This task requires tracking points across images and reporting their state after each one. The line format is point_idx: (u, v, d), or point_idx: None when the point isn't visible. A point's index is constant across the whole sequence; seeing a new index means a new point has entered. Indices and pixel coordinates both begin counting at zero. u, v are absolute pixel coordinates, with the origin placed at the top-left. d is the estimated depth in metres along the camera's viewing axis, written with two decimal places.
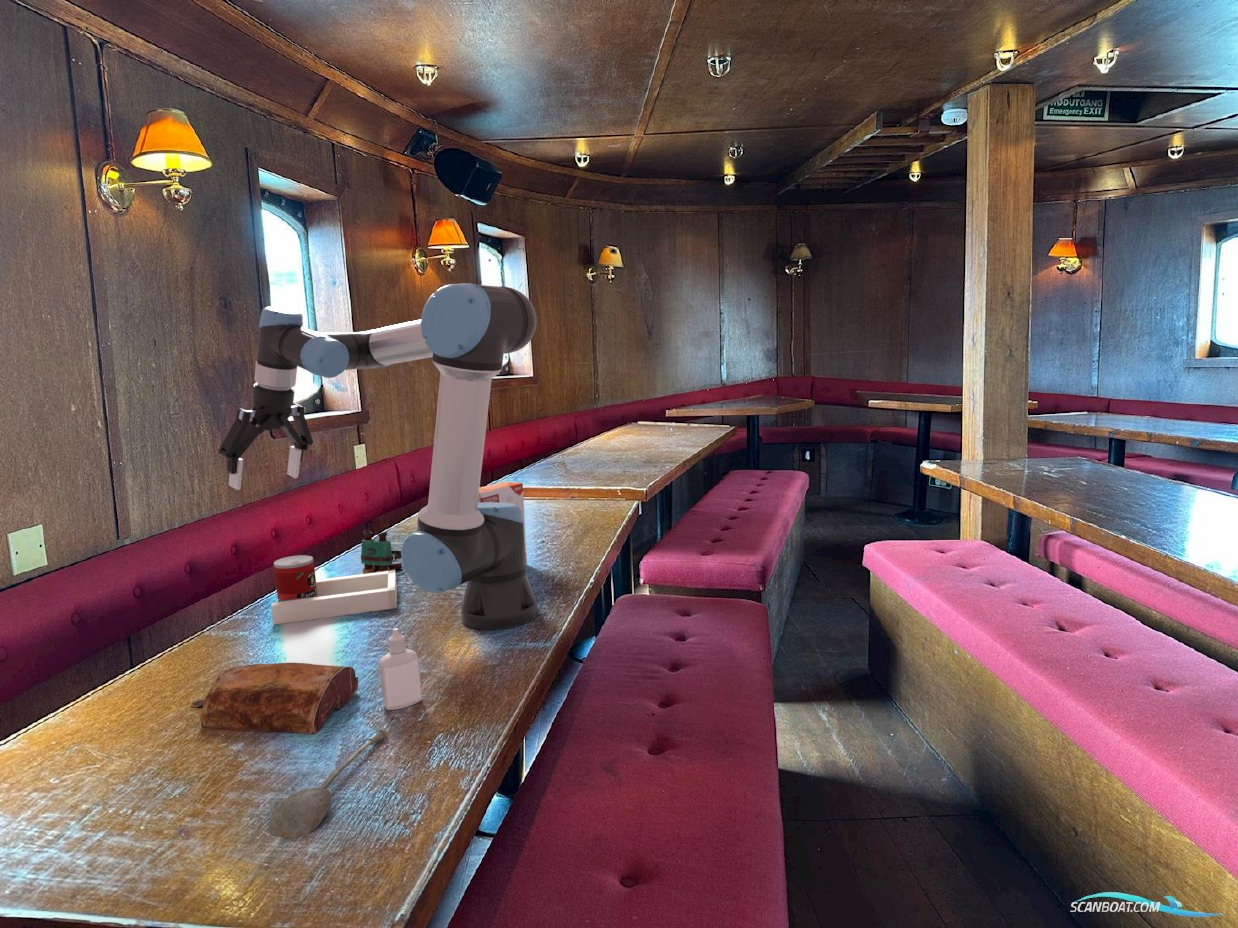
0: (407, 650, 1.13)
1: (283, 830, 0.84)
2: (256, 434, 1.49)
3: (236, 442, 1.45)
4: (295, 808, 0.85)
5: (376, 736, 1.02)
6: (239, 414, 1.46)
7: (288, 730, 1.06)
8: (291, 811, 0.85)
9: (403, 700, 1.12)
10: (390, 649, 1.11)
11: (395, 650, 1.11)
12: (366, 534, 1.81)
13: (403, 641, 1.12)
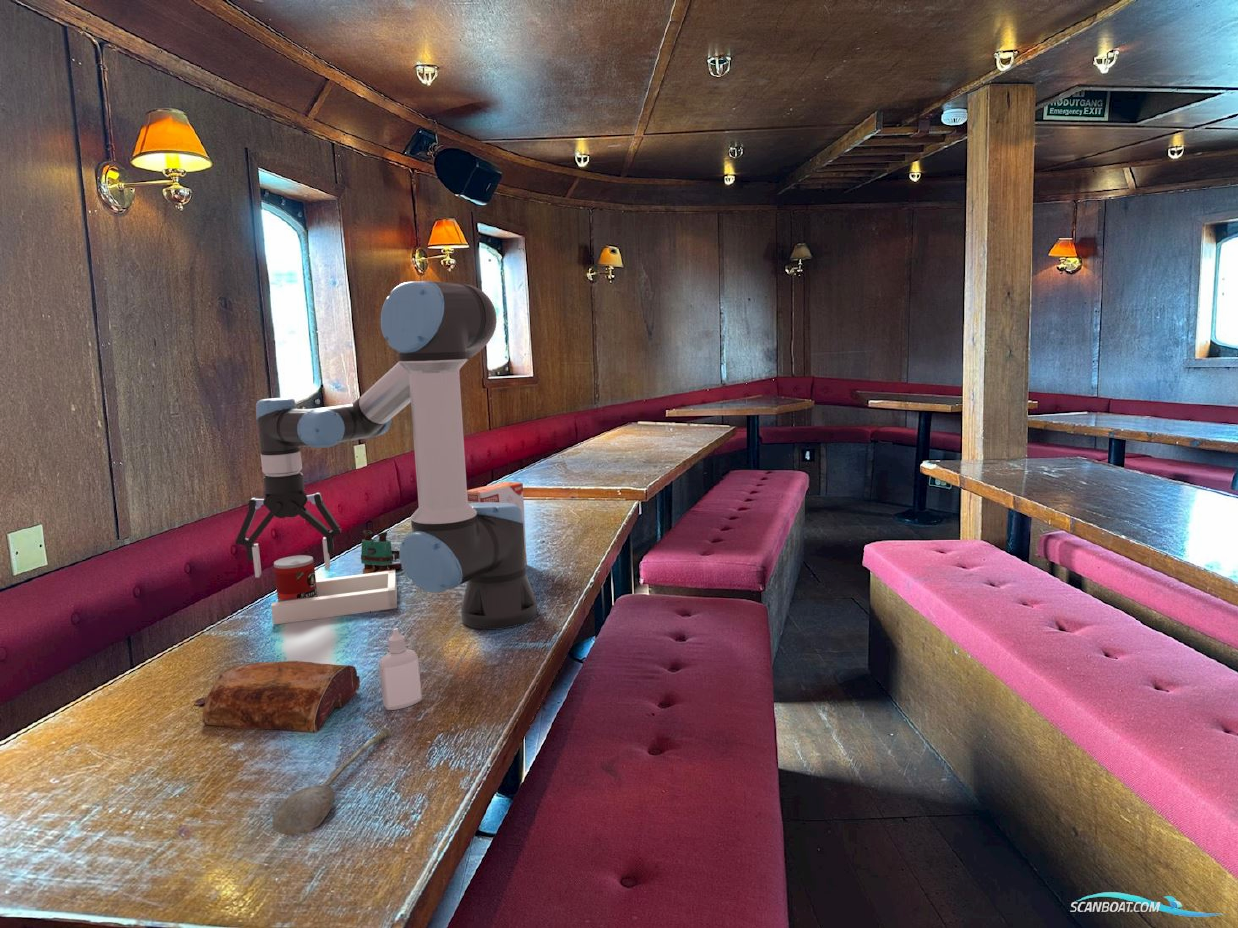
0: (407, 651, 1.13)
1: (286, 827, 0.84)
2: (266, 522, 1.53)
3: (244, 529, 1.52)
4: (298, 805, 0.86)
5: (380, 734, 1.03)
6: None
7: (289, 728, 1.07)
8: (294, 808, 0.86)
9: (403, 700, 1.12)
10: (390, 649, 1.11)
11: (395, 650, 1.11)
12: (366, 534, 1.81)
13: (403, 641, 1.12)
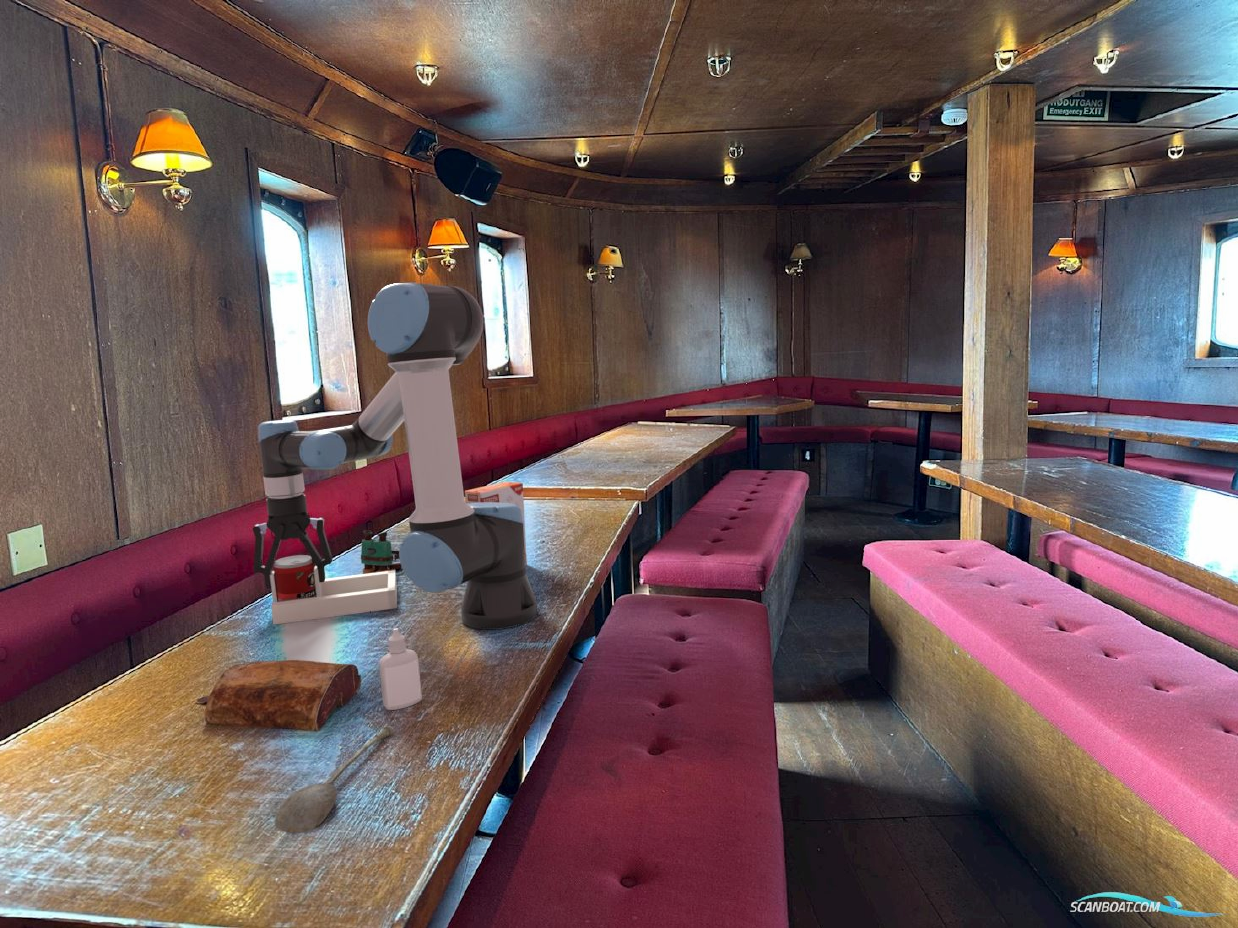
0: (407, 651, 1.13)
1: (289, 825, 0.84)
2: (276, 546, 1.54)
3: (258, 556, 1.53)
4: (301, 803, 0.86)
5: (382, 733, 1.03)
6: None
7: (291, 727, 1.07)
8: (296, 806, 0.86)
9: (403, 700, 1.12)
10: (390, 649, 1.11)
11: (395, 650, 1.11)
12: (366, 534, 1.81)
13: (403, 641, 1.12)
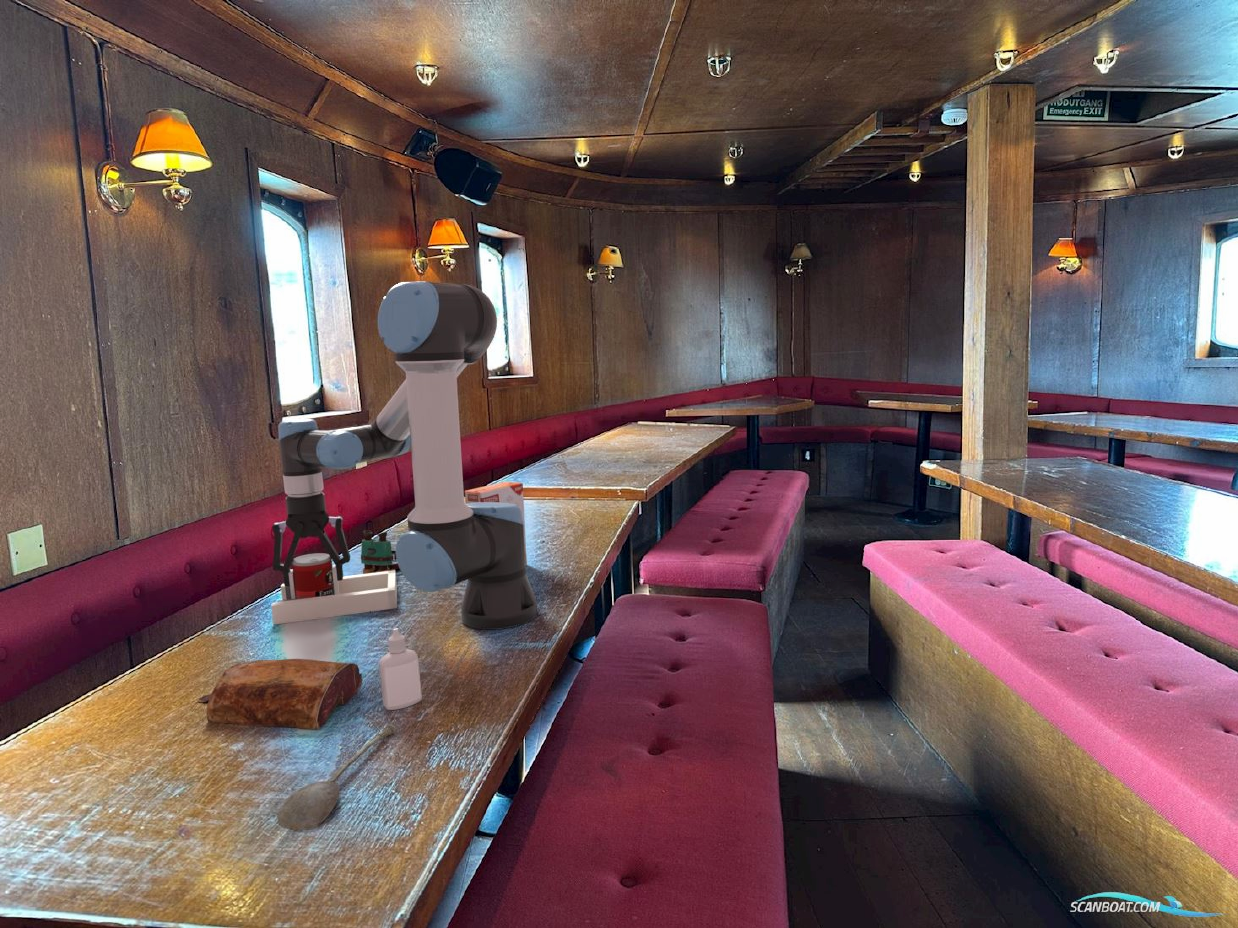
0: (407, 650, 1.13)
1: (292, 823, 0.85)
2: (295, 544, 1.55)
3: (277, 554, 1.54)
4: (303, 801, 0.87)
5: (384, 731, 1.03)
6: None
7: (292, 725, 1.08)
8: (299, 804, 0.86)
9: (403, 700, 1.12)
10: (390, 649, 1.11)
11: (395, 650, 1.11)
12: (366, 534, 1.81)
13: (403, 641, 1.12)
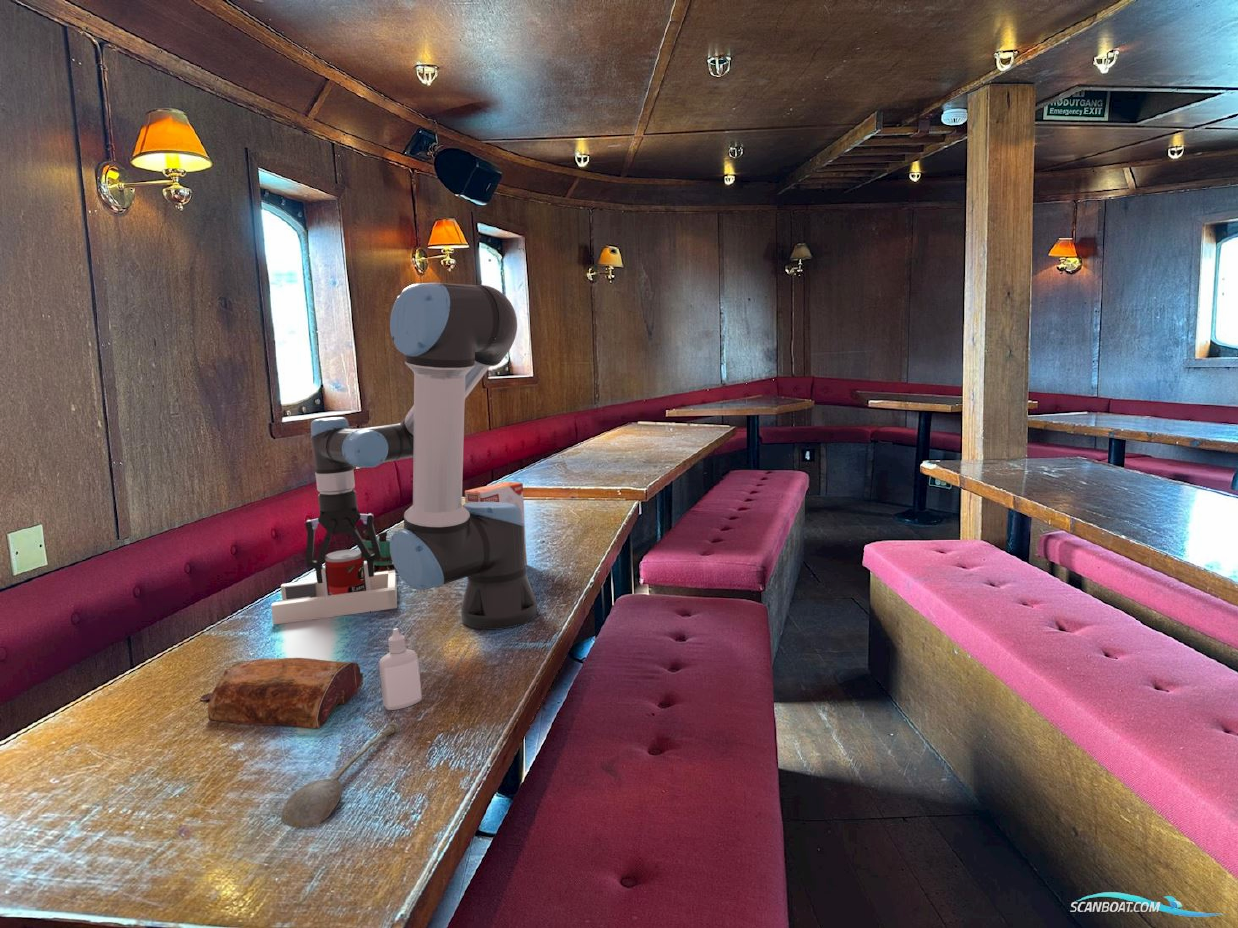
0: (407, 651, 1.13)
1: (295, 820, 0.85)
2: (327, 541, 1.57)
3: (310, 551, 1.56)
4: (307, 799, 0.87)
5: (387, 730, 1.04)
6: None
7: (292, 724, 1.08)
8: (302, 801, 0.87)
9: (403, 700, 1.12)
10: (390, 649, 1.11)
11: (395, 650, 1.11)
12: (366, 534, 1.81)
13: (403, 641, 1.12)
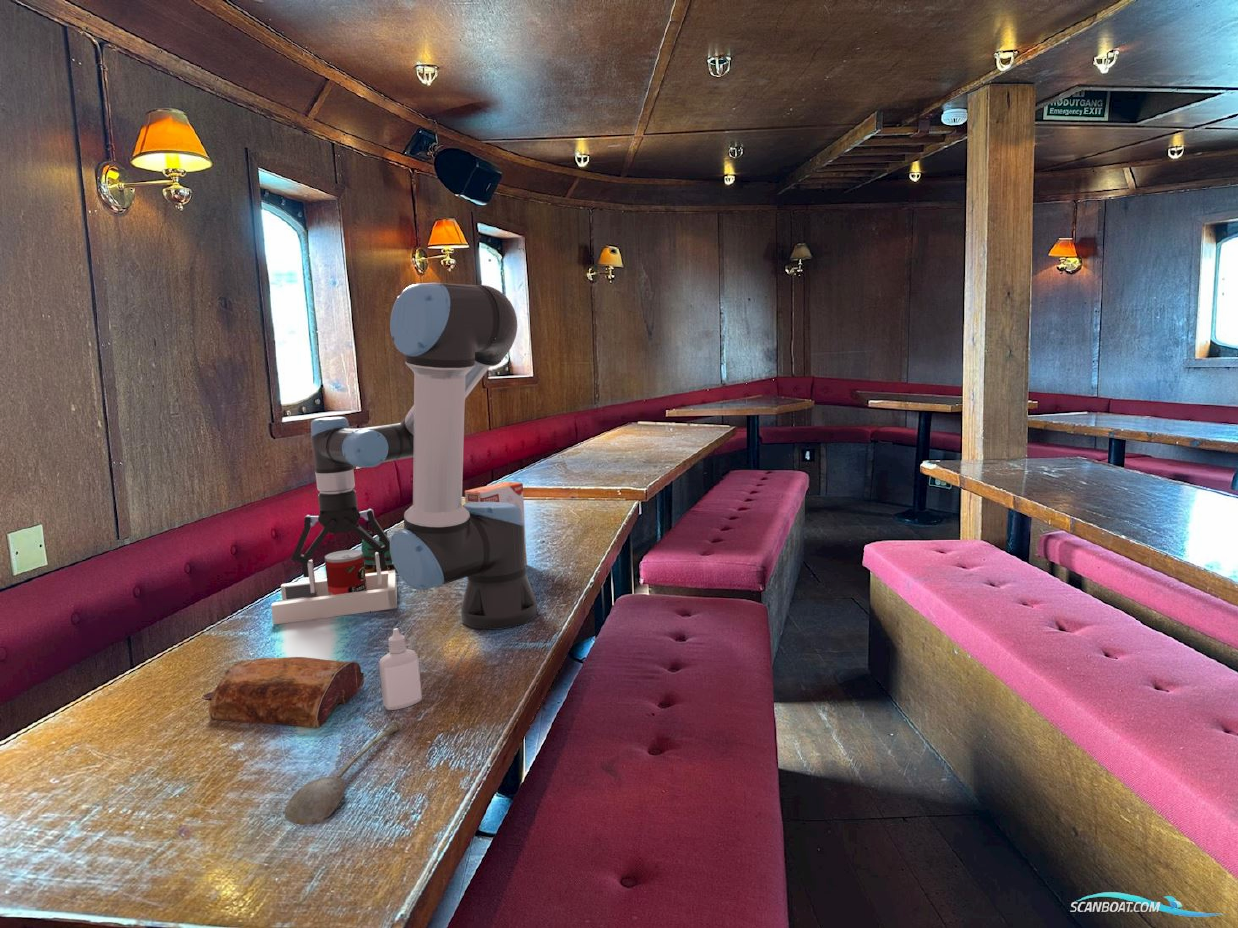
0: (407, 651, 1.13)
1: (298, 817, 0.86)
2: (321, 538, 1.56)
3: (300, 546, 1.55)
4: (310, 796, 0.88)
5: (390, 728, 1.04)
6: None
7: (292, 723, 1.08)
8: (306, 799, 0.87)
9: (403, 700, 1.12)
10: (390, 649, 1.11)
11: (395, 650, 1.11)
12: None
13: (403, 641, 1.12)
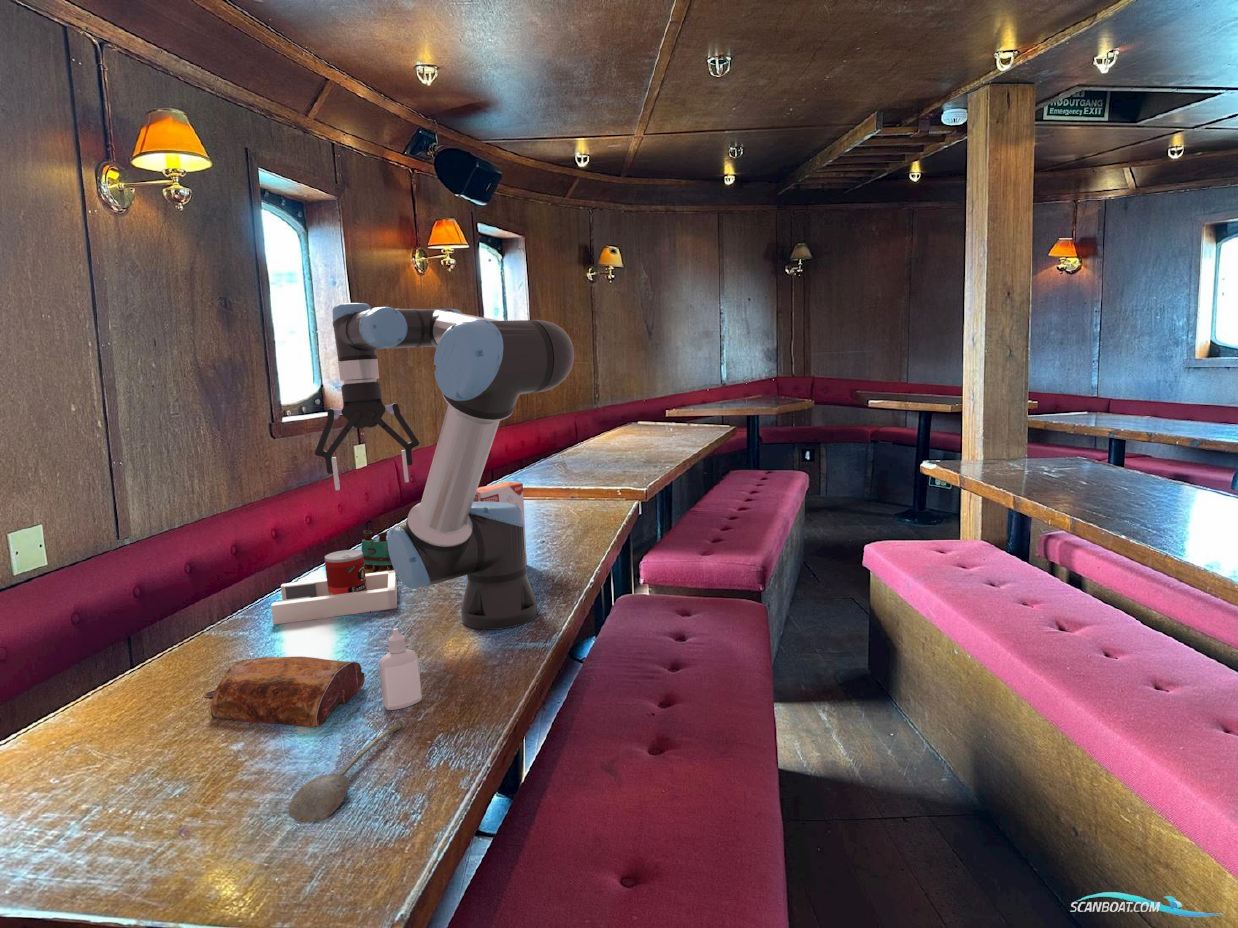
0: (407, 650, 1.13)
1: (302, 814, 0.86)
2: (345, 432, 1.49)
3: (323, 439, 1.48)
4: (313, 793, 0.88)
5: (394, 726, 1.05)
6: None
7: (292, 723, 1.08)
8: (309, 796, 0.88)
9: (403, 700, 1.12)
10: (390, 649, 1.11)
11: (395, 650, 1.11)
12: (366, 534, 1.81)
13: (403, 641, 1.12)
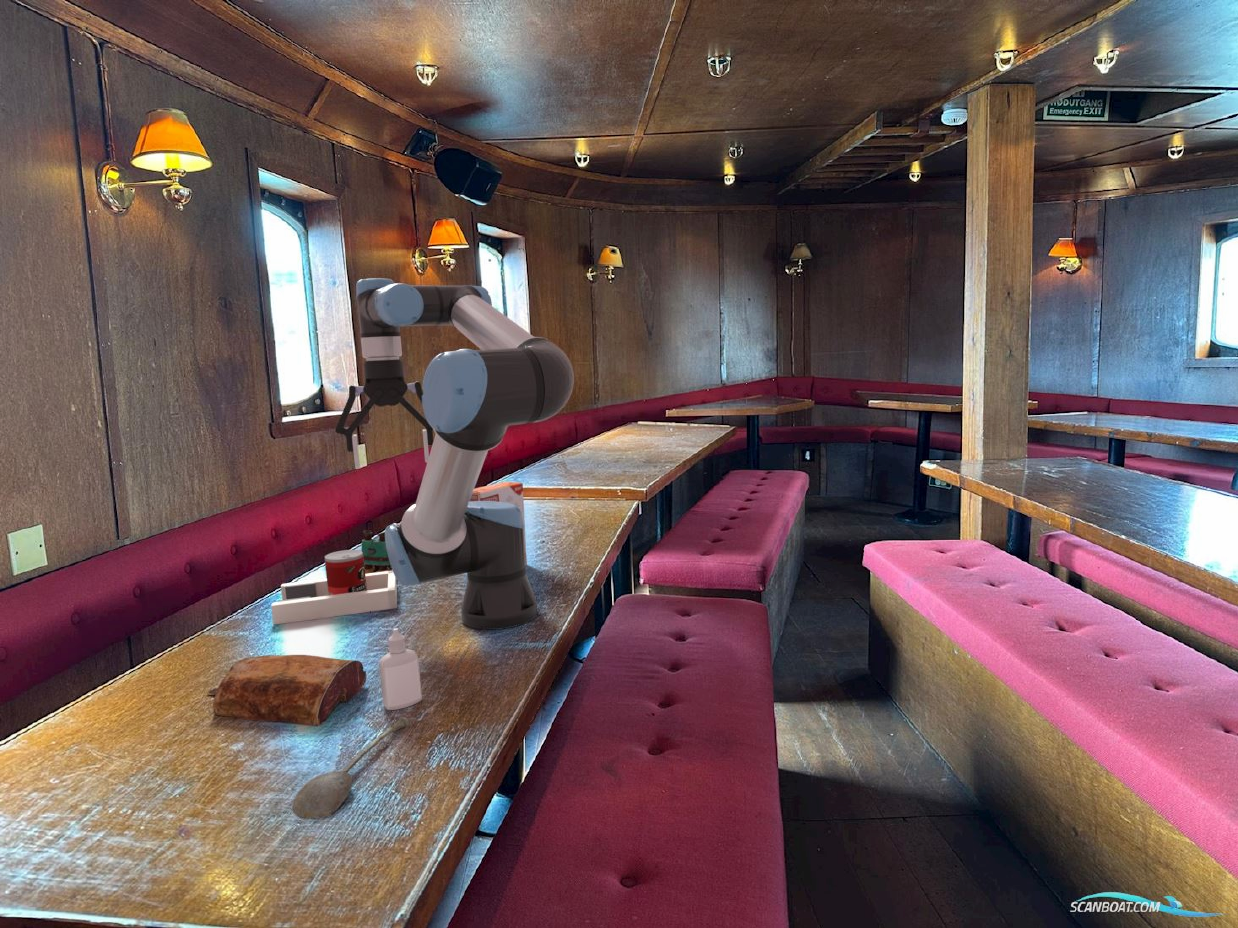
0: (407, 651, 1.13)
1: (305, 811, 0.87)
2: (366, 410, 1.47)
3: (344, 417, 1.46)
4: (317, 790, 0.89)
5: (397, 724, 1.05)
6: None
7: (294, 721, 1.09)
8: (313, 793, 0.88)
9: (403, 700, 1.12)
10: (390, 649, 1.11)
11: (395, 650, 1.11)
12: (366, 534, 1.81)
13: (403, 641, 1.12)
